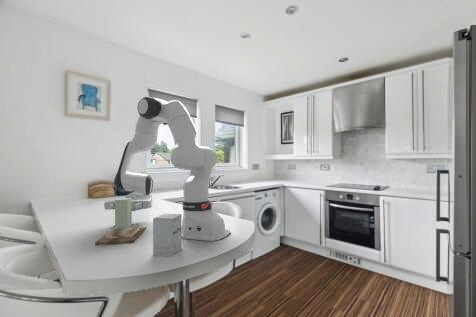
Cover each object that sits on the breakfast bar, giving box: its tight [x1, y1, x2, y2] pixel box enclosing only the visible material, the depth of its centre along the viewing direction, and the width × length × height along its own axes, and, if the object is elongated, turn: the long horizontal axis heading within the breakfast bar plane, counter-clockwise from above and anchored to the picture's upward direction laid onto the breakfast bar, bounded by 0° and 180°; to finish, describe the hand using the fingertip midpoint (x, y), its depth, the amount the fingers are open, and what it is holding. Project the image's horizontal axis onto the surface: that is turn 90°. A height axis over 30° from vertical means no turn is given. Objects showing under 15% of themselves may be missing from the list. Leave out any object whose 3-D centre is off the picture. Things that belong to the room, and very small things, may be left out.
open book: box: [94, 223, 147, 246], centre depth 96 cm, size 14×18×4 cm
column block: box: [114, 197, 133, 229], centre depth 96 cm, size 5×5×12 cm
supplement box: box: [152, 213, 183, 257], centre depth 78 cm, size 7×7×13 cm
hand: (123, 207), depth 96 cm, fingers open, 8 cm apart
